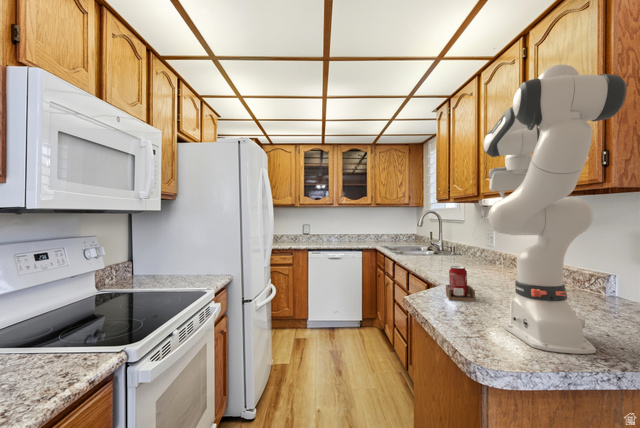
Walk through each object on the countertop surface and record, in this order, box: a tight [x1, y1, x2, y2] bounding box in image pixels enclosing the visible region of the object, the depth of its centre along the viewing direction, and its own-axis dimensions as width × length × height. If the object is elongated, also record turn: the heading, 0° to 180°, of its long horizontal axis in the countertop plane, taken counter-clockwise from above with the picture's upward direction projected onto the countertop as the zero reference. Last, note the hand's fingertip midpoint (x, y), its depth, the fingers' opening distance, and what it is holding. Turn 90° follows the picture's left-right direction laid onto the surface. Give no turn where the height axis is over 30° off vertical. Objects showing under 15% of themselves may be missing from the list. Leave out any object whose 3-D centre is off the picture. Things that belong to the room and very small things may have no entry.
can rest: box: [445, 284, 476, 302], centre depth 130 cm, size 10×10×4 cm
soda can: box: [448, 265, 468, 297], centre depth 130 cm, size 7×7×12 cm
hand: (519, 202), depth 121 cm, fingers open, 8 cm apart
